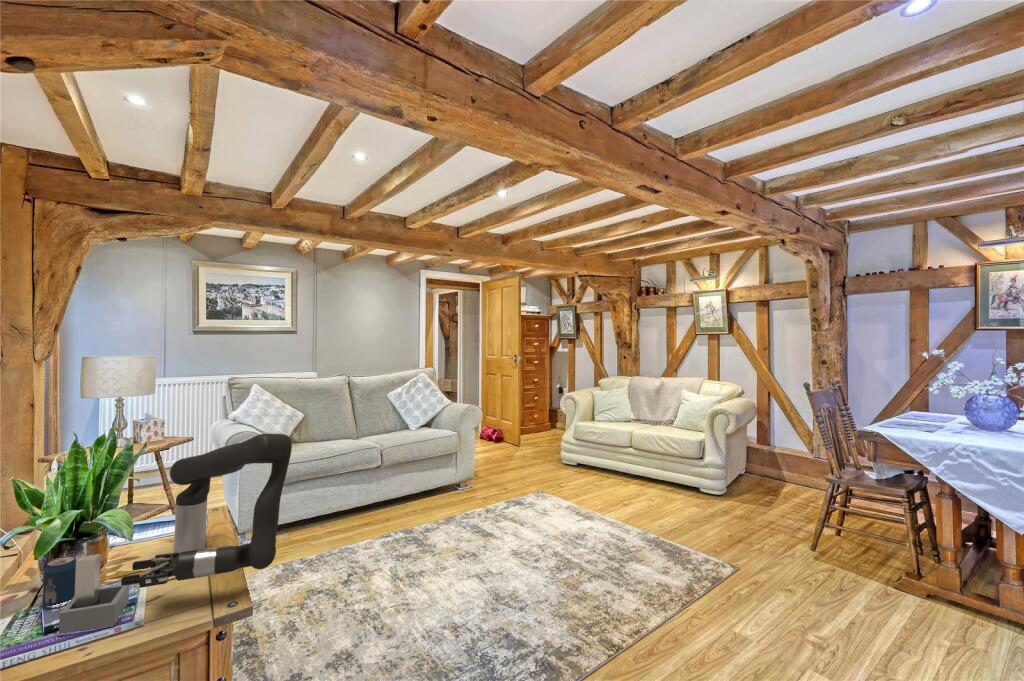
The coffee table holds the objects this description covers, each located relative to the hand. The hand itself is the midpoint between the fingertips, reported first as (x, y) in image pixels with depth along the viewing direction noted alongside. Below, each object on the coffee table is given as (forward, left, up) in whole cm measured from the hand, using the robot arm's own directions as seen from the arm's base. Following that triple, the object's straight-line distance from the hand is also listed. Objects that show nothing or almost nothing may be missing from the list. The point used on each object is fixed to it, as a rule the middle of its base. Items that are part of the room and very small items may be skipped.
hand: (127, 573), depth 125 cm
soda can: (-13, -18, -11) cm, 25 cm away
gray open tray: (0, -6, -11) cm, 13 cm away
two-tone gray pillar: (0, -8, -10) cm, 13 cm away
